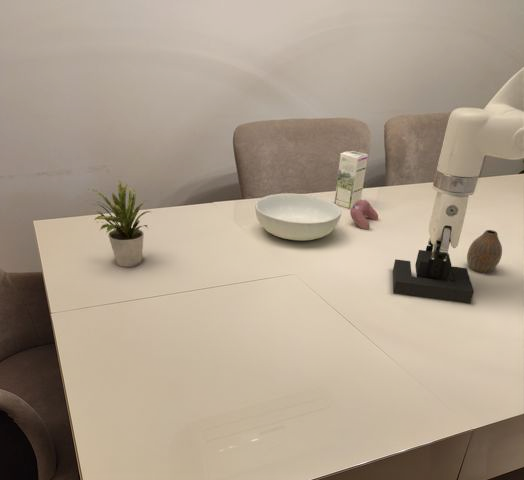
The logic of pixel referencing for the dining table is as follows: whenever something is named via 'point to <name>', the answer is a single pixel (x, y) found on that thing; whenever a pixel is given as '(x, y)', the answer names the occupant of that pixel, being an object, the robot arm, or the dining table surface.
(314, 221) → the serving bowl
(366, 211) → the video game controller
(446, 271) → the black block
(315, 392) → the dining table surface
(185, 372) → the dining table surface
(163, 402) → the dining table surface
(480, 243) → the vase
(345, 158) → the syrup box
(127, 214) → the house plant
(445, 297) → the notched pad
